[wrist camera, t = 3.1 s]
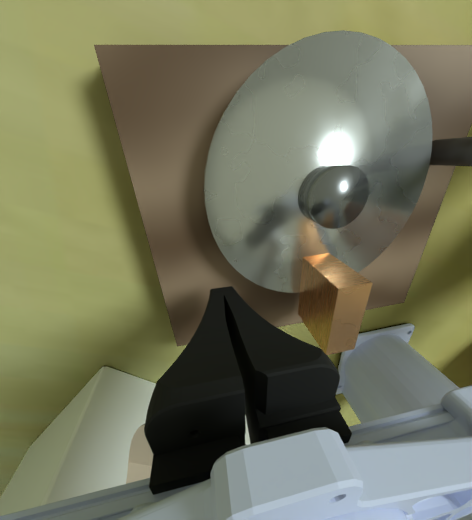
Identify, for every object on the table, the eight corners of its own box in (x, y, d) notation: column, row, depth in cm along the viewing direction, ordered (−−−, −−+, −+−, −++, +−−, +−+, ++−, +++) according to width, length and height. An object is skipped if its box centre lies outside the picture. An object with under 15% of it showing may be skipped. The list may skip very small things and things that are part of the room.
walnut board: (389, 292, 20) (461, 341, 14) (178, 331, 17) (171, 409, 12) (467, 57, 12) (680, -22, 7) (107, 60, 9) (-3, -66, 4)
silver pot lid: (183, 42, 8) (173, -69, 4) (449, 43, 10) (620, -36, 6) (219, 317, 15) (229, 376, 11) (377, 289, 17) (435, 331, 13)
